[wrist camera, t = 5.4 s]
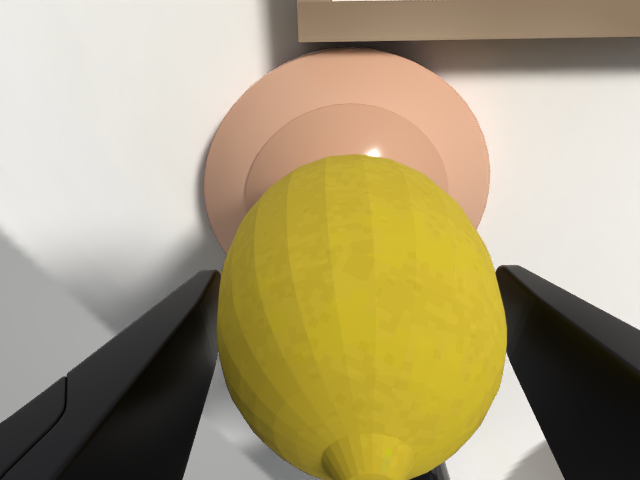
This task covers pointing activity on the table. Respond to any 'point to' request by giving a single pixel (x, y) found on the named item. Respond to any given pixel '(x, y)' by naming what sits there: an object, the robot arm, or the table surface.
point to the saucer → (343, 130)
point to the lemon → (360, 321)
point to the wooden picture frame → (465, 19)
